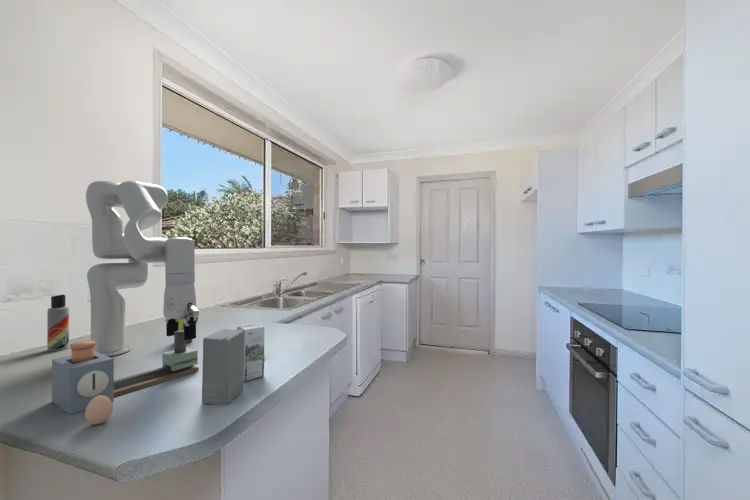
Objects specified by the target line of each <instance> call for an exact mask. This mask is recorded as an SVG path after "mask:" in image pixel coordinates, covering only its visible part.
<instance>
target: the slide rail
mask: <svg viewBox="0 0 750 500" xmlns="http://www.w3.org/2000/svg"><path fill="white" fill-rule="evenodd" d="M198 371H199V366H196V365H192V366H189V367H185V368H182V369H179V370H175V371H171V366H165V367H162V366H161V367H159V368H155V369H151V370H148V371H144V372H140V373H136V374H132V375H129V376H126V377H121V378H119V379H114V397H117V396H120V395H124V394H128V393H130V392H134V391H137V390H140V389H144V388H146V387H149V386H153V385H157V384H160V383H162V382H166V381H169V380H173V379H176V378H179V377H182V376H183V377H184V376H186V375H189V374H192V373H196V372H198Z"/></svg>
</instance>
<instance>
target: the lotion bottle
mask: <svg viewBox="0 0 750 500" xmlns="http://www.w3.org/2000/svg"><path fill="white" fill-rule="evenodd" d="M46 319H47V327H46V329H47V336H46V339H47V342H46V343H47V344H46V346H47V351H48V352H58V351H64V350H67V349H69V348H70V344H69V343H70V321H69V320H70V308H69V306H66V294H59V295H58V294H57V295H52V296H51V297H50V308H47V318H46Z"/></svg>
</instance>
